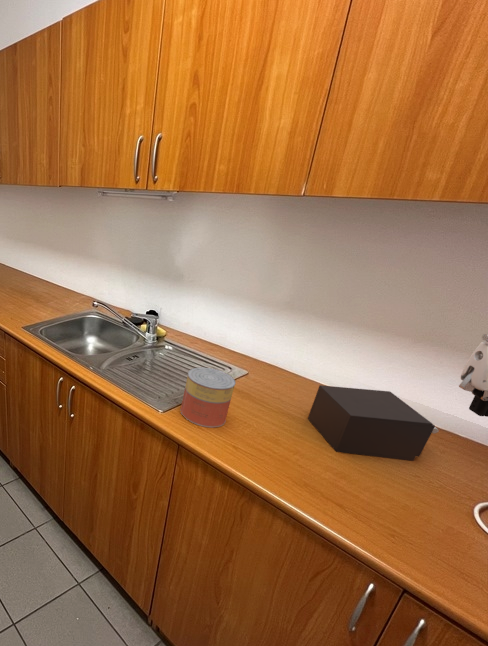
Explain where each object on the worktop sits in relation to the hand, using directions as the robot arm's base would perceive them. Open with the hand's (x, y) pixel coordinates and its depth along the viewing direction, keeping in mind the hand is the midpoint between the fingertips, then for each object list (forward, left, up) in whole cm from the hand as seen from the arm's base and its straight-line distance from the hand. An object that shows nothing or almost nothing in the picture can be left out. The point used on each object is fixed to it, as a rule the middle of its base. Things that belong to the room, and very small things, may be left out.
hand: (478, 412), depth 91 cm
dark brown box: (+21, 0, -11) cm, 23 cm away
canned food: (+56, -3, -11) cm, 57 cm away
